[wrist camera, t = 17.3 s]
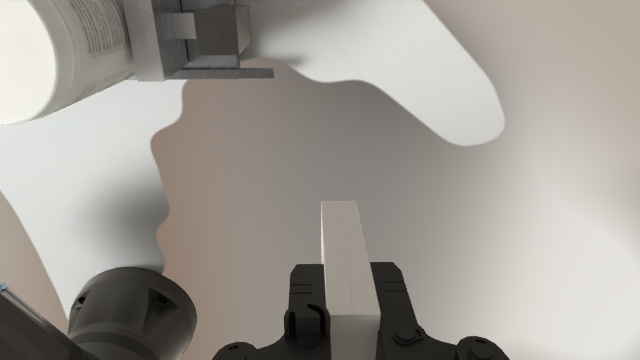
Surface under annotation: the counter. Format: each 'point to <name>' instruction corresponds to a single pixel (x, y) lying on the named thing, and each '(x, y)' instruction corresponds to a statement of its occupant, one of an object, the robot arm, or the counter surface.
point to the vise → (212, 63)
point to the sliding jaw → (181, 34)
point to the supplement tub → (59, 54)
